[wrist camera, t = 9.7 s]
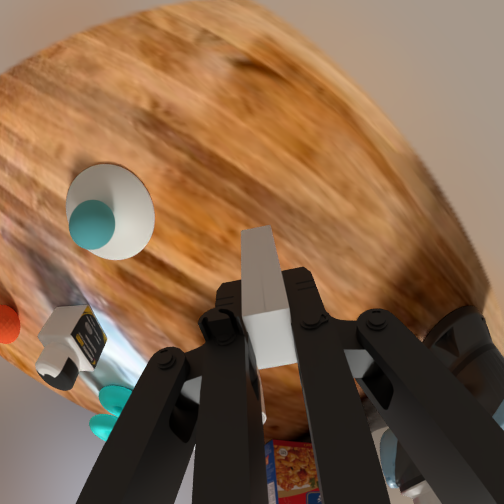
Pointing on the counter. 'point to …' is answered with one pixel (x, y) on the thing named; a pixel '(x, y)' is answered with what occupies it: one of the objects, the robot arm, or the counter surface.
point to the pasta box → (291, 473)
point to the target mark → (116, 207)
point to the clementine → (8, 324)
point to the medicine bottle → (69, 345)
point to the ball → (92, 224)
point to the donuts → (114, 403)
